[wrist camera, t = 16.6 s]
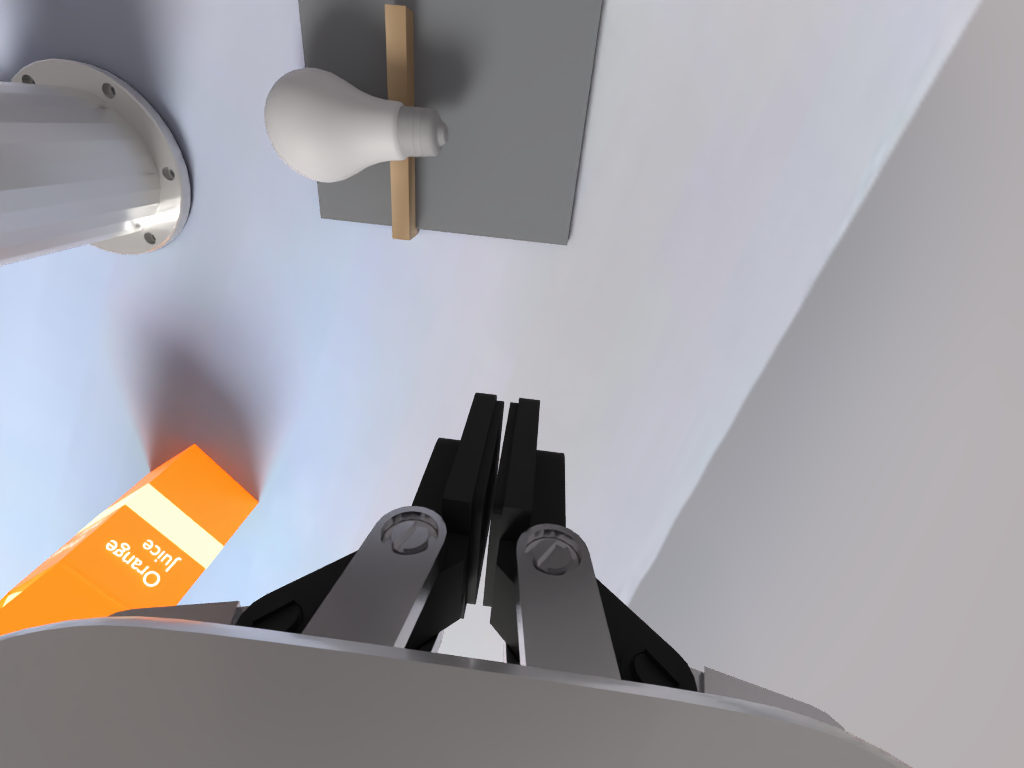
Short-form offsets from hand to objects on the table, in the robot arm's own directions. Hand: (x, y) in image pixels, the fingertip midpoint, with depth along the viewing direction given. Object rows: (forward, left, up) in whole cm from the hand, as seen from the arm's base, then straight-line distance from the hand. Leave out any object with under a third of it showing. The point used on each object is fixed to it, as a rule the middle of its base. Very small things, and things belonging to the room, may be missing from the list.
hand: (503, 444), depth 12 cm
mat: (-7, +7, -25) cm, 27 cm away
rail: (-10, +6, -25) cm, 28 cm away
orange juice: (-32, -29, -25) cm, 50 cm away
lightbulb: (-6, +6, -21) cm, 23 cm away
